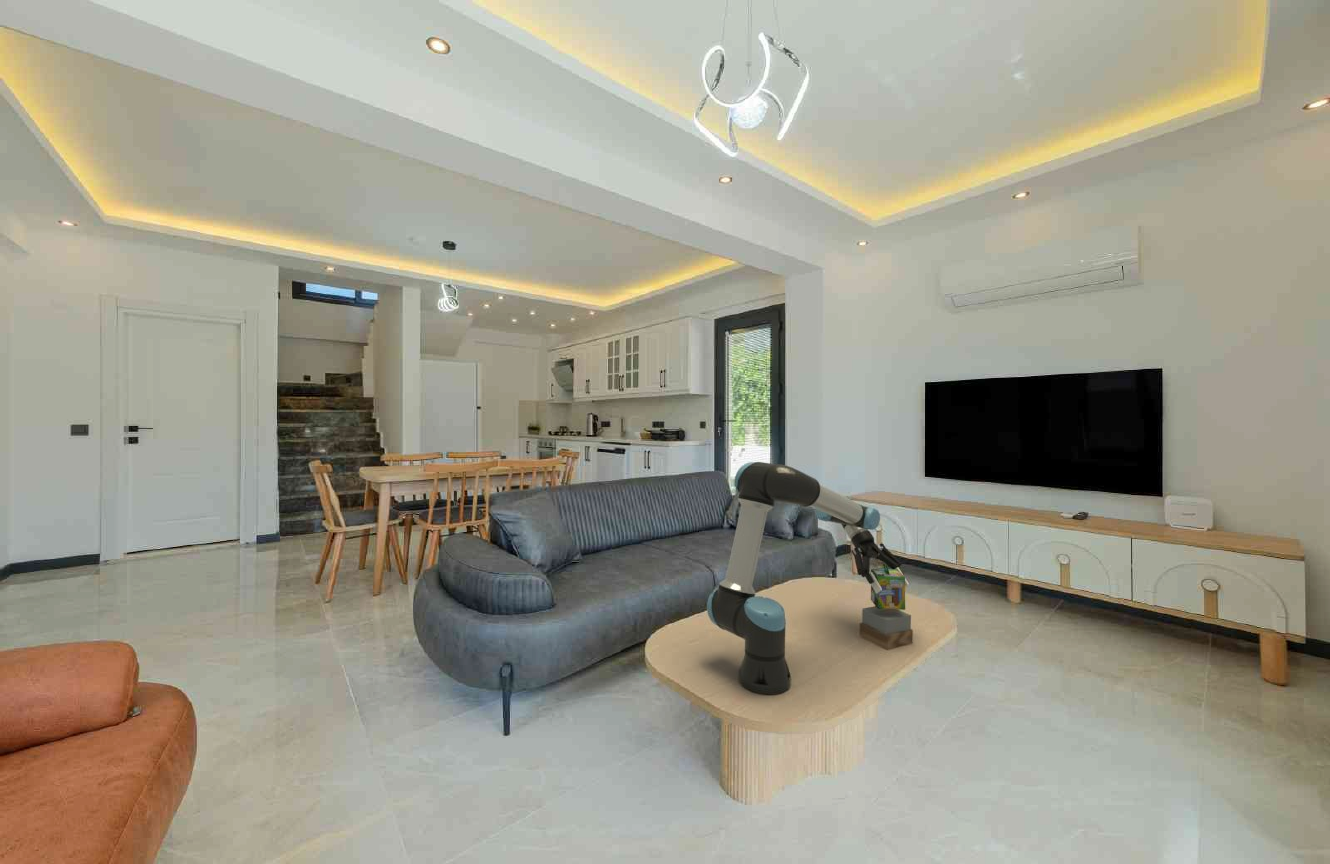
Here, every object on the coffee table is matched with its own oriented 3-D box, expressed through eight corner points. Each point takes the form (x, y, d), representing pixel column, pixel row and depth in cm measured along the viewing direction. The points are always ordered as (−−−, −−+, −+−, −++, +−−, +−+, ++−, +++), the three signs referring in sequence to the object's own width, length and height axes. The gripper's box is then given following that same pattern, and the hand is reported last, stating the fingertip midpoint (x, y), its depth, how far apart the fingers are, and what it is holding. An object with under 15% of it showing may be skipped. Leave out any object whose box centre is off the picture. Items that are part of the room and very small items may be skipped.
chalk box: (905, 610, 176) (906, 567, 175) (877, 609, 177) (878, 566, 176) (896, 600, 185) (897, 559, 184) (869, 599, 186) (870, 558, 185)
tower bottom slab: (887, 651, 174) (887, 636, 173) (859, 636, 184) (859, 622, 184) (912, 644, 179) (912, 629, 178) (884, 630, 190) (884, 617, 189)
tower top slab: (885, 634, 174) (886, 620, 174) (862, 622, 185) (862, 608, 184) (910, 629, 179) (910, 615, 178) (885, 617, 189) (886, 604, 188)
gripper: (877, 536, 199) (911, 588, 186) (829, 544, 189) (860, 599, 176) (889, 525, 194) (924, 578, 181) (839, 532, 184) (873, 588, 171)
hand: (893, 588), depth 179 cm, fingers closed on chalk box, 12 cm apart
